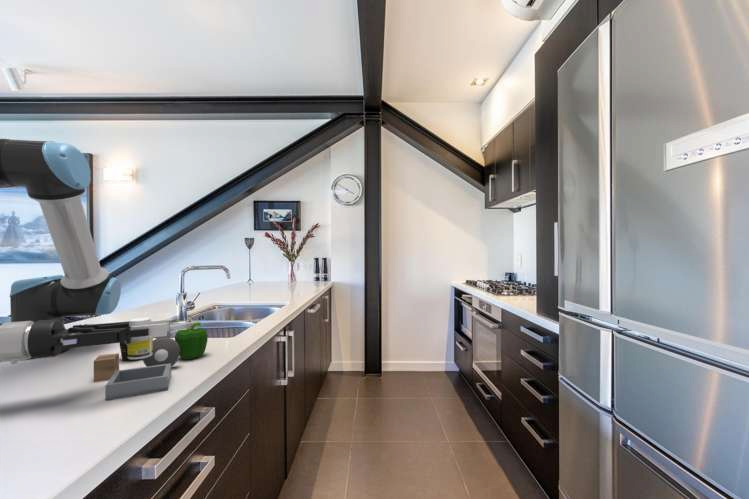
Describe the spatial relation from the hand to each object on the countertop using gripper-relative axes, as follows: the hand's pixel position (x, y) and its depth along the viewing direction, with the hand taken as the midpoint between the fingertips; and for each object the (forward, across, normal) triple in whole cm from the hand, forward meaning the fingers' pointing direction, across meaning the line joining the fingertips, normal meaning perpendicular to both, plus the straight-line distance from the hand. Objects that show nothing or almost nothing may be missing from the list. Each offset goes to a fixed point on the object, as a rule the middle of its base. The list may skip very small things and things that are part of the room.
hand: (167, 327), depth 80 cm
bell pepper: (+4, -20, -13) cm, 24 cm away
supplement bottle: (-5, 0, -6) cm, 8 cm away
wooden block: (-14, -12, -13) cm, 22 cm away
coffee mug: (-9, -26, -13) cm, 30 cm away
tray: (-5, 0, -13) cm, 14 cm away
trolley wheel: (-2, -13, -13) cm, 19 cm away
